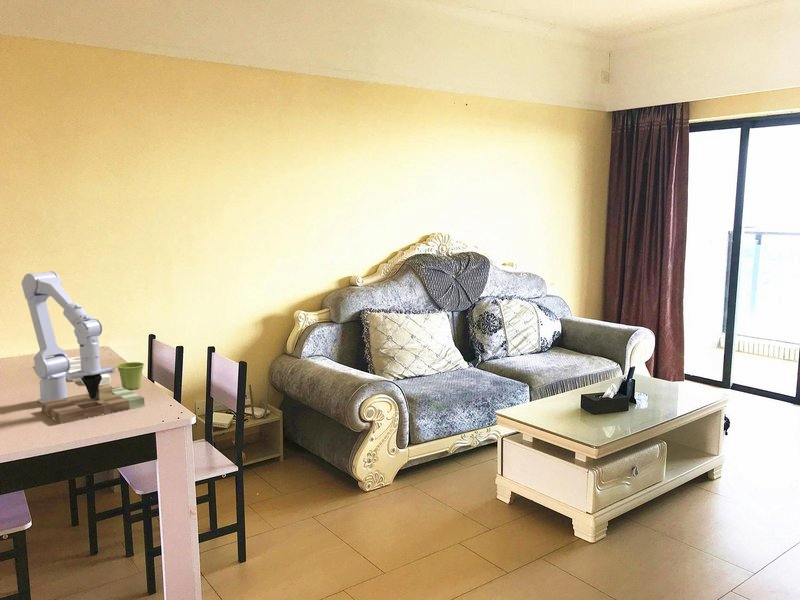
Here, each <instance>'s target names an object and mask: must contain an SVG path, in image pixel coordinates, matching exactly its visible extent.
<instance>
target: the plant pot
mask: <svg viewBox="0 0 800 600" xmlns="http://www.w3.org/2000/svg"><path fill="white" fill-rule="evenodd" d="M144 366H145V363H144V362H138V361H131V362H129V361H128V362H123V363H122V362H121V363H120V364H117V365H116V368H117V369H118V372H119V376H120V381H121V387H123V388H125V389H127V390H130V391H131V390H133V389H134V390H138V389H140V388H141V387H142V385H141V384H142V376H143V375H142V374H143V369H144ZM137 388H138V389H137ZM134 390H133V391H134Z"/></svg>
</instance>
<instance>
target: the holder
mask: <svg viewBox="0 0 800 600" xmlns="http://www.w3.org/2000/svg"><path fill="white" fill-rule="evenodd" d="M68 358H69V360H70V363H71V366H70V370H69V371H68V372H67V373H72V372H76V371H80V370H81V362H80V356H74V357H68ZM100 376H102V380H101V381H100V383H99V385H102V384H107V383H106V382H108V383H111V382H112V381H111V379H112V377H111V375H110V374H109V373H107V374H101V375H100ZM65 377H66V375H65ZM71 381H73V383H74V382H75V383H77V382H80V383H82V384H83V385H84V386H85V384H84V383H83V381H82V380H81V378H77V379H72V380H71Z"/></svg>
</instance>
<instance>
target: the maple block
mask: <svg viewBox="0 0 800 600" xmlns="http://www.w3.org/2000/svg"><path fill="white" fill-rule="evenodd" d="M112 389H113V387H112V385H111V384H109V383H102V384H99V386H98V389H97V393H96V398H97V399H98V400H104V399H109V398H112Z"/></svg>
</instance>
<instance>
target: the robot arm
mask: <svg viewBox="0 0 800 600" xmlns="http://www.w3.org/2000/svg"><path fill="white" fill-rule="evenodd" d="M20 284H21V287H22V291H23V295H24V299H25V300H26V301H27V306H28V309H29V313H30V316H31V318H30V319H31V321H32V324H33V329H34V333H35V337H36V340H37V344H38V347H39V351H37V353H36V354H35V355H34V357H33V361H34V366H33V367H34V372H35V373H34V374H35V375H37V377H38V379H40V380H39V392H40V397H39V399H37V402H38V403H40V404H41V402H45V401H51V400H56V399H62V398H67V397H68V395H67V394H68V393H67V382H66V381H72V379H77V378H81V380H82V381H83V383H84V384H85V385H84V384H83V383H82V384H83V385H84V386H85V389H86V390H87V394H89V397H90V398H91V399H93V398H96V393H97V389H98V386H99V385H100V384H99V383H100V381H101V380H102V376H100V375H101V374H115V373H116V369H115V367H116V366H114V365H111V366H103V367H101V357H100V356H101V355H100V353H101V352H100V342H99V341H100V339H99V338H100V337H99V336H101V335H102V333H103V325H102V323H101V322H100V320H99V319H97V318H94V317H93V316H90V315H89V314H88V312H86V310H85V309H84V308H83V306H82V304H80V303H77V302H73V301H72V299H71V297H70V295H68V293H67V292H66V291H65V289H64V287H63V286H62V278H61V277H60V276H59V274H58V273H57V272H55V271H53V270H52V271H48V272H47V271H46V272H37V273H36V272H35V273H25V275H24V276H23V279H22V280H21V283H20ZM49 297H51V298H53V300H54V301H55V302H56V303H57V304H58V305H59V306H60V307H61V308H62V309H63V312H62V314H63V316H64V317H65V318H66V319H67V321H68V322H69V323H70V324H71V326H73V328H74V330H73V333H74V335H75V336H74V337H76V340H77V342H76V343H77V344H78V346H79V347H78V348H79V357H80V362H81V370H80V371H76V372H72V373H67V372H68V371H69V370H70V366H71V363H70V360H69V358H70V357H69V356H68V355H67V352H66V350H65V349H64V348H61V347H60V346H58V343H57V339H56V335H55V332H54V327H53V323H52V321H51V317H50V313H49V309H48V305H47V300H48V299H49ZM65 375H66V377H65Z"/></svg>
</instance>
